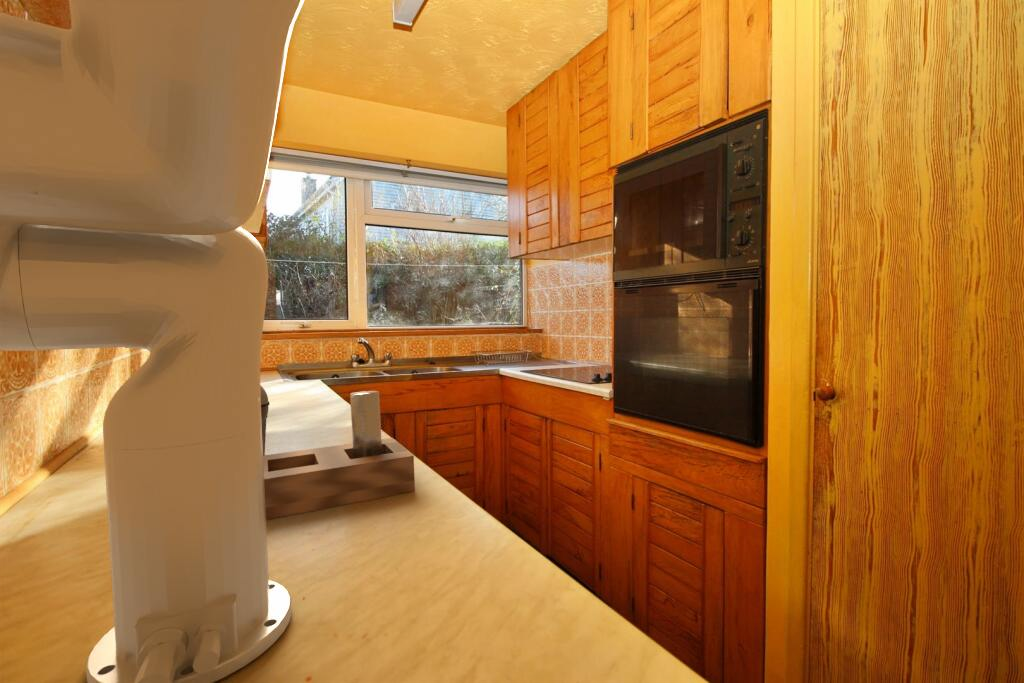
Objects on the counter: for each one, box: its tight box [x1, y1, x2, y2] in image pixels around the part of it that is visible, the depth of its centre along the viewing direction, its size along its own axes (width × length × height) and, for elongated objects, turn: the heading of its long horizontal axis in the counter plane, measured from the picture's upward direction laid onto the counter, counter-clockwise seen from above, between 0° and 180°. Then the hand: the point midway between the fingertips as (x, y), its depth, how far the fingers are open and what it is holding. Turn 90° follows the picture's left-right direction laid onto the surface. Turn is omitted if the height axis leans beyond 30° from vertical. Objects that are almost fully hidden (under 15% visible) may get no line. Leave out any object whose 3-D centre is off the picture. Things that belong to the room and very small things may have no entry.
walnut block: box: [263, 437, 416, 521], centre depth 66 cm, size 20×12×5 cm, turn 118°
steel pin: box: [349, 390, 382, 459], centre depth 68 cm, size 4×4×12 cm
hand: (166, 266), depth 52 cm, fingers open, 9 cm apart
